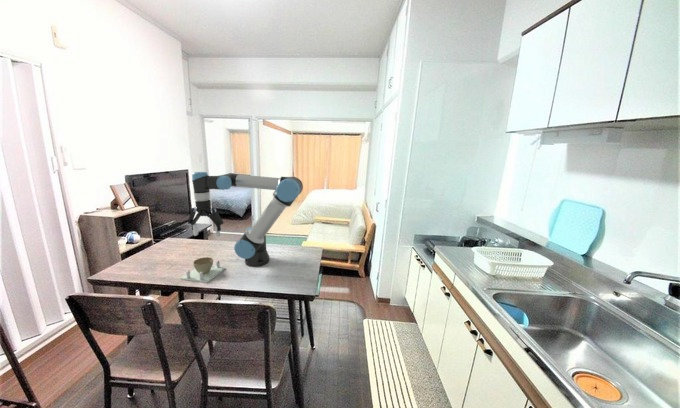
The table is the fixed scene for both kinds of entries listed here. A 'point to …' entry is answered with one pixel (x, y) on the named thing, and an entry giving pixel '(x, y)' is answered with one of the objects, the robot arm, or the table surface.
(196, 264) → the tan round bowl
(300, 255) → the table surface
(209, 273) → the tray
